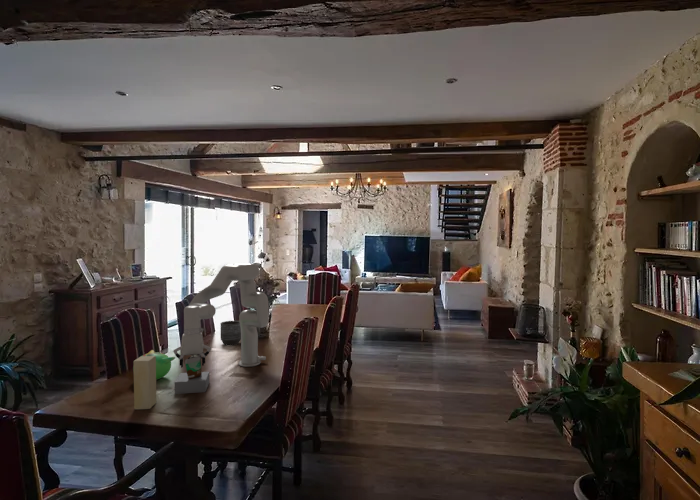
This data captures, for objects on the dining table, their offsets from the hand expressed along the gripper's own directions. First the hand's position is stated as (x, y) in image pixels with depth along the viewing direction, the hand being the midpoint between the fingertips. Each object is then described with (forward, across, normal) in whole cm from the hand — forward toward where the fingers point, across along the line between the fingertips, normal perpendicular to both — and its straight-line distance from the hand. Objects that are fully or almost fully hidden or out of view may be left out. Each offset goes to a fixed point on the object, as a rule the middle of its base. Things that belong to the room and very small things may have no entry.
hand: (192, 365), depth 210 cm
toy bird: (+11, +20, -19) cm, 30 cm away
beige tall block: (+11, +19, +18) cm, 28 cm away
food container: (+5, -2, 0) cm, 6 cm away
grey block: (+11, 0, 0) cm, 11 cm away
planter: (+11, -22, -86) cm, 89 cm away
